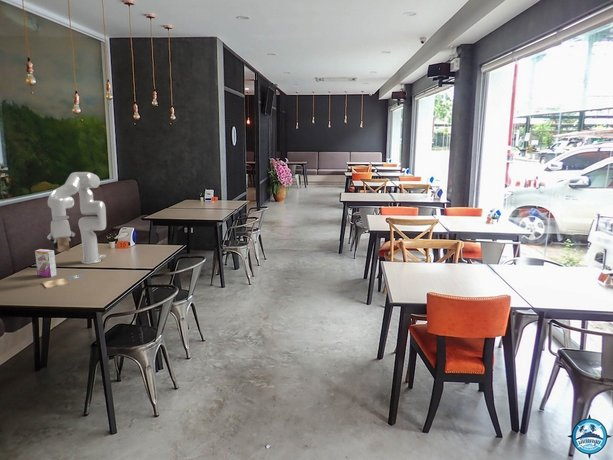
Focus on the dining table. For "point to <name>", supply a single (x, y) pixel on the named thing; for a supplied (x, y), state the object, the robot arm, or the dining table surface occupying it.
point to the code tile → (75, 276)
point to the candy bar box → (45, 263)
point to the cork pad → (55, 283)
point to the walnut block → (63, 244)
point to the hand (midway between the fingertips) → (62, 248)
